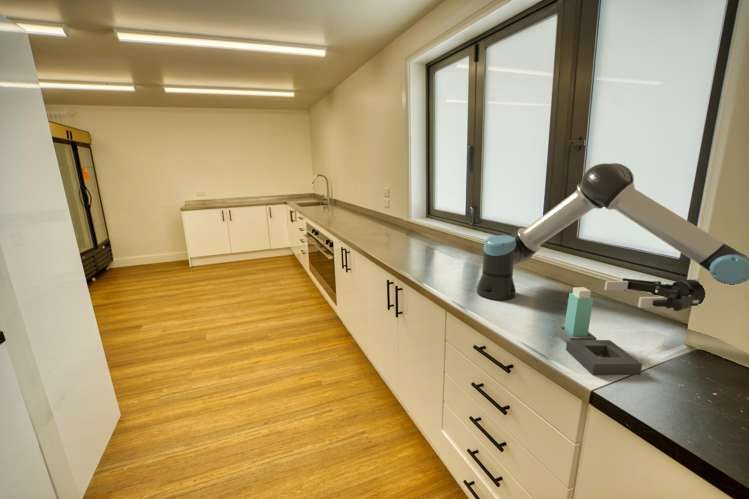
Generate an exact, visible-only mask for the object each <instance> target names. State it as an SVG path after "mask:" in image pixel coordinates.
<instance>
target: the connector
mask: <svg viewBox="0 0 749 499" xmlns="http://www.w3.org/2000/svg"><path fill="white" fill-rule="evenodd" d="M591 293H592V290H589V289H588V288H586V287H583V286H581V287H580V286H579V287H577V286H576V287H573V288H572V292H569V293H568V294H569V295H568V298H567V299H568V300H567V307H566V315H565V321H564V326H565V328H564V331H565V332H566V333H568V334H569V335H570V336H571V337H587V336H588V332H589V330H590V329H589V328H590V323H591V316H592V310H593V303H594V297H592V296H591Z"/></svg>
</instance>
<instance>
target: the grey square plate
mask: <svg viewBox="0 0 749 499" xmlns="http://www.w3.org/2000/svg"><path fill="white" fill-rule="evenodd" d="M564 328H565V325H564V326H562V325H558V326H557V325H556V327H555V335H556V336H558V337H559V338H560V339H561V340H562V341H563V342H564V343H565V344H566V345H567V340H597V337H596V336H595V335H593V334H592V333H591V332H590V331H588V336H587V337H571V336H570V335H569V334H568V333H566V332H565V331H564Z"/></svg>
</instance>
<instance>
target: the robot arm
mask: <svg viewBox="0 0 749 499" xmlns="http://www.w3.org/2000/svg"><path fill="white" fill-rule="evenodd" d="M634 179H635V178H634V174H633V172H632V170H631V169H630V168H628V166H626V165H623V164H621V163H617V162H614V163H613V162H612V163H611V162H610V163H599V164H595V165H593V166H592V167H590V168H589V169H588V170H587V171H586V172H585V173H584V175H583V176H582V179H581V181H580V182H579V183H578V184H577V186H576V190H575V191H574V192H573V193H571V194H570V195H569V196H568V197H566V198H565V199H563V200H562V201H561V202H559V203H558V204H557V205H555V206H554V207H552V208H551V209H550V210H549V211H547V212H546V213H545V214H544V215H542V216H541V217H540V218H538V219H537V220H535V221H534V222H533V223H532V224H530V225H528V227H526V228H524V227H521V228H519V229H518V230H516V231H515V232H514V233H512V234H510V235H503V234H502V235H501V234H499V235H492V236H489V237H487V238H486V239H485V241H484V244H483V245H484V246H483V257H482V272H481V275H480V279H479V280H478V284H477V285H476V294H477V295H479V296H480V297H481V298H482V297H483V298H485V299H489V300H494V301H508V300H512V299H514V298H515V297H516V294H517V293H516V291H517V290H516V285H515V282H514V279H513V276H514V275H513V274H514V266H515V265H518V264H521V263H523V262H526V261H528V260H531V258H532V257H533V256H534V255H535V254H536V253H538V252H539V251H540V250H541V245H542V244H544V243H546V242H547V241H549V239H551V238H553V237H554V236H555V235H557V234H558V233H560V232H561V231H563V230H564V229H566V228H567V227H568V226H570V225H572V224H573V223H574V222H575V221H577V220H579V219H580V218H582V217H583V216H585V215H586V214H588V213H589V212H590V211H592V210H594V209H597V210H598V209H603V208H605V209H607V210H615V211H617V212H618V213H620V214H621V215H623V216H624V217H626V218H627V219H629V220H630V221H632V222H633V223H636V224H637V225H638V226H639V227H641V228H642V229H644V230H645V231H647V232H649V233H650V234H651V235H653V236H655V237H657V238H658V239H660V240H661V241H663V242H664V243H665V244H668V245H669V246H670V247H671V248H673V249H675V250H676V251H678V252H679V253H681V254H683V256H685V257H687V258H688V259H689V260H692V261H693V262H694V263H696V264H697V265H699V266H701V267H702V268H704V269H705V270H706V271H708V272H709V274H710V275H711V276H712V277H713V278H714V279H716V280H717V281H719V282H721V283H724V284H729V285H735V284H740V283H743V282H745V281H747V280H748V279H749V258H748V257H747V256H746V255H744V254H742V253H740V252H738V251H736V250H735V249H733V248H731V247H730V246H728V245H726V244H724V243H723V242H721V239H720V240H719V239H718V238H716V237H715V236H713V235H712V234H710V233H708V232H706V231H705V230H703V229H702V228H700V227H699V226H696V225H695V224H693V223H692V222H690V221H689V220H686V219H685V218H683V217H682V216H680V215H678V214H677V213H675V212H673V211H672V210H670V209H669V208H667V207H665V206H663V205H662V204H661V203H659V202H657V201H655V200H654V199H652V198H651V197H649V196H647V195H646V194H644V193H642V192H641V191H639V190H637V189H636V188H635V183H634ZM698 279H699V278H696V279H678V280H676V281H675V282H673V283H672V284H669V283H662V281H660V280H657V281H656V280H654V281H653V280H643V279H634V278H624V277H623V278H622V280H609V281H608V280H606V281H605V283H604V289H603V290H605V291H625V292H626V291H627V290H632V291H638V292H643V293H648V294H649V293H650V294H651V295H652V296H639V297H638V302H637V307H638V308H640V309H641V308H666V309H673V311H675V312H679V311H682V310H685V309H687V308H690V307H696V306H699V305H698V304H701V303H702V302H703V300H704V298H705V294H706V293H705V290H704V288H703V286H702V285H701V284H700V283H699V282H698Z"/></svg>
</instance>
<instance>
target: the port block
mask: <svg viewBox="0 0 749 499" xmlns="http://www.w3.org/2000/svg"><path fill="white" fill-rule="evenodd" d="M565 351H566V352H567V353H569V354H570V355H571V356H572V357H573V358H574V359H575V361H577V362H578V364H579V363H580V365H581V366H582V367H583V368H585V370H587V371H588V373H590V374H591V375H592V376H616V375H617V376H622V375H623V376H627V375H628V376H629V375H630V376H631V375H632V376H633V375H634V376H636V375H637V376H638V375H639V376H641V373H642V370H643V363H642V362H641V361H639V360H638V359H637V358H635V357H634V356H632V355H631V354H630V353H628V352H627V351H626V350H624V349H622V348H621V347H620V346H618V345H617V344H616V343H614V342H613V341H612V340H610V339H596V340H567V344H566V345H565ZM598 356H605V357H598Z"/></svg>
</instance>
